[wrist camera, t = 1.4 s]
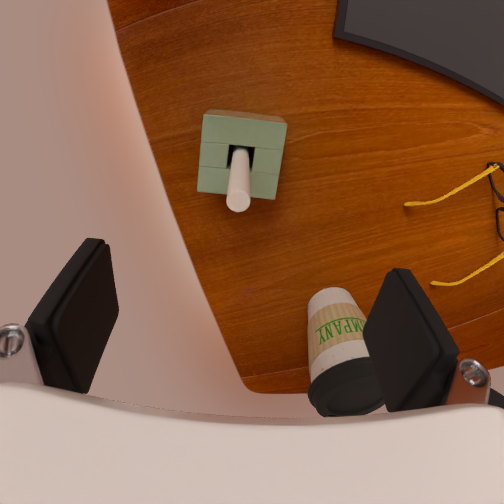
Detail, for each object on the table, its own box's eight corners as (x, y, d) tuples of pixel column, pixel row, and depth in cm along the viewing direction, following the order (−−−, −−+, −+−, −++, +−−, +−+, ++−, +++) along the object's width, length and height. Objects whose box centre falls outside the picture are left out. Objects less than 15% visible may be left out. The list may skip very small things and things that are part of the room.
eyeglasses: (503, 234, 36) (518, 249, 33) (429, 282, 40) (441, 300, 37) (488, 150, 30) (508, 160, 26) (402, 202, 34) (417, 218, 30)
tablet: (348, -90, 15) (350, -93, 14) (517, -2, 17) (521, -3, 17) (331, 37, 24) (334, 36, 23) (505, 107, 26) (510, 109, 25)
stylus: (234, 138, 30) (227, 189, 18) (249, 140, 30) (252, 191, 18) (233, 152, 30) (225, 211, 19) (247, 153, 31) (248, 213, 19)
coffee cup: (379, 294, 41) (418, 382, 28) (332, 338, 45) (354, 427, 32) (325, 263, 38) (359, 361, 25) (279, 315, 42) (290, 413, 29)
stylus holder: (209, 108, 28) (203, 114, 24) (281, 116, 29) (287, 124, 25) (203, 175, 32) (197, 191, 28) (271, 183, 32) (274, 200, 28)
